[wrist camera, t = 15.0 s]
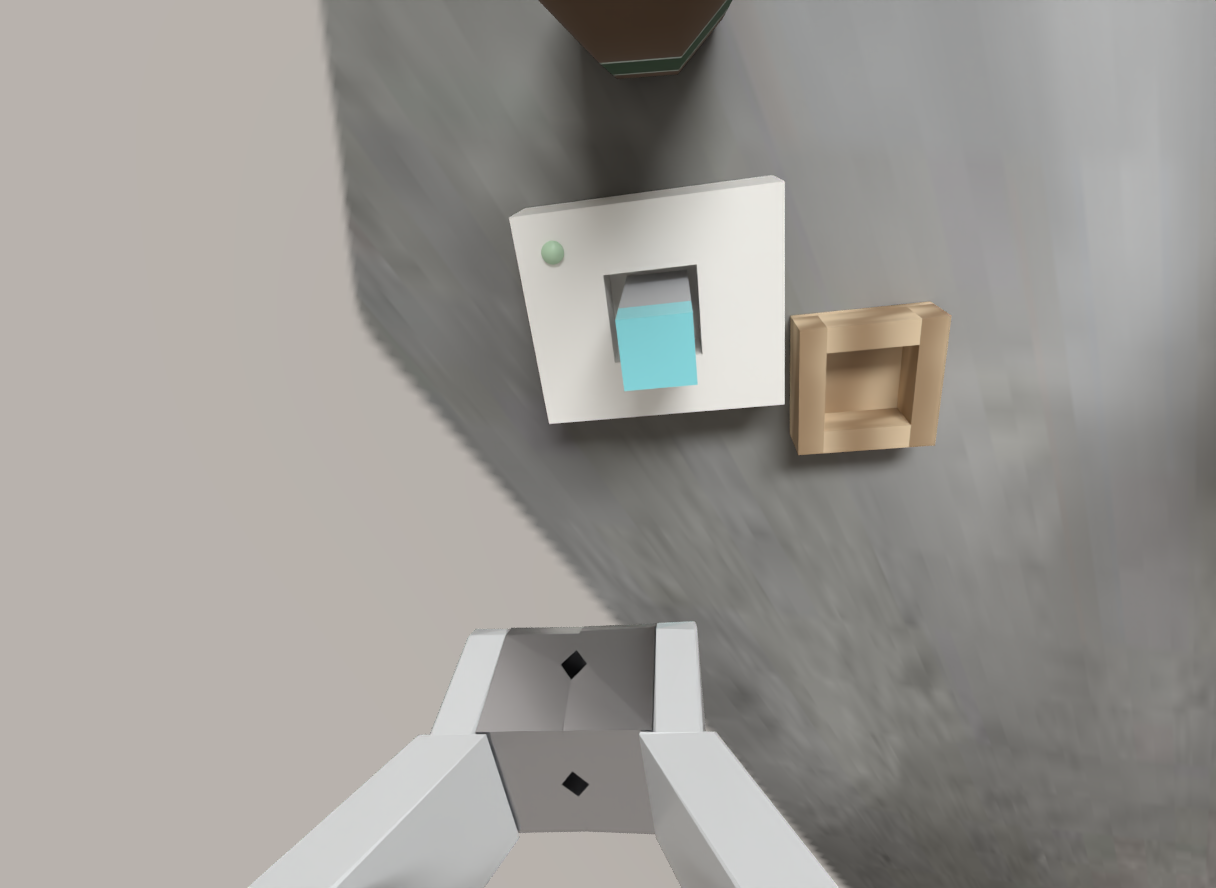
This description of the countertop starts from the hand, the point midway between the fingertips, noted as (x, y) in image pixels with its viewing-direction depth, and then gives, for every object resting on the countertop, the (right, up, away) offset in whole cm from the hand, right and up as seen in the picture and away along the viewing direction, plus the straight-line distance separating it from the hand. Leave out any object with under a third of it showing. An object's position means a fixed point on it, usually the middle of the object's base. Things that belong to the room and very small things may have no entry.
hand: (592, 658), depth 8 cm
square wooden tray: (+16, +7, +30) cm, 35 cm away
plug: (+3, +11, +28) cm, 30 cm away
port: (+3, +12, +29) cm, 31 cm away
